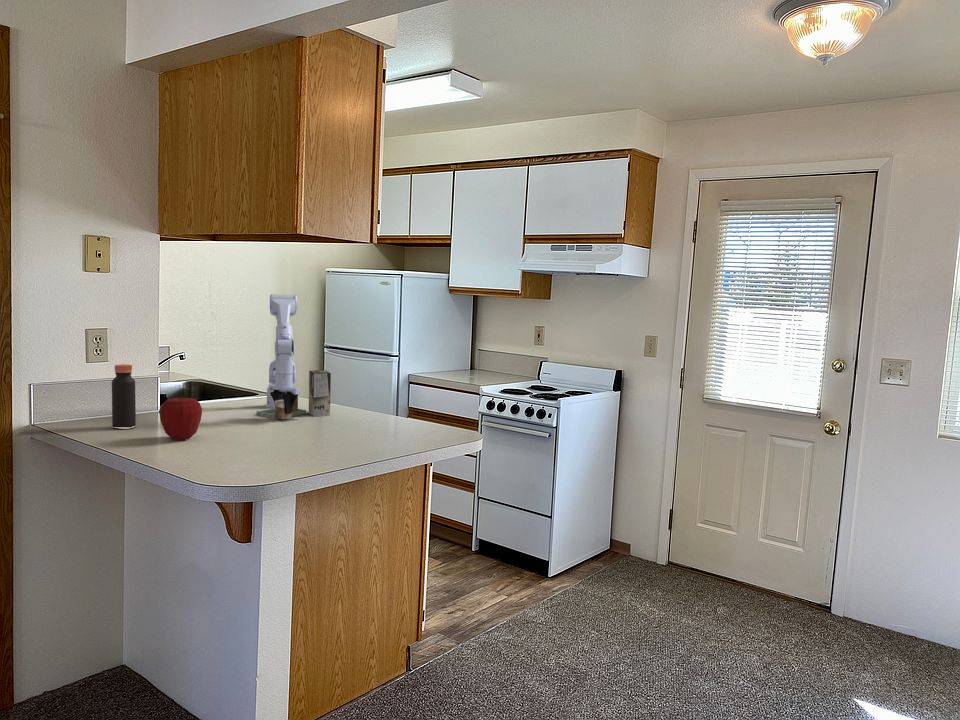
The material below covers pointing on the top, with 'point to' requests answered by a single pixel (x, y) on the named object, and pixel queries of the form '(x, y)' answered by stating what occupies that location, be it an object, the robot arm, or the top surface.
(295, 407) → the plain block
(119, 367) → the bottle
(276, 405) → the labelled block
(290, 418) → the mat
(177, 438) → the apple
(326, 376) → the coffee box
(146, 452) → the top surface
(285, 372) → the robot arm
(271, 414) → the tray
